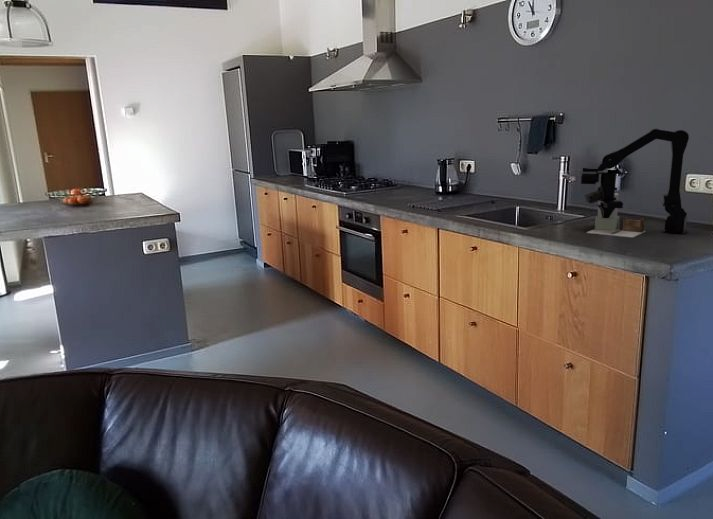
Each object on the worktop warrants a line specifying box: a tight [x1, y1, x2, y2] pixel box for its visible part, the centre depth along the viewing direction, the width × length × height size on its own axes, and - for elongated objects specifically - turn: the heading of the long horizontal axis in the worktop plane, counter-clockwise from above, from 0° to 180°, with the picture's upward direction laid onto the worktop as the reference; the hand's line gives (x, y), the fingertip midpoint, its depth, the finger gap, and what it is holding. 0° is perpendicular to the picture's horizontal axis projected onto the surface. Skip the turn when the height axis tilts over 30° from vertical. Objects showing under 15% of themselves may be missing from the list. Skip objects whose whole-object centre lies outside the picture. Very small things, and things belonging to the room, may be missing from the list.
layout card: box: [585, 228, 646, 239], centre depth 222 cm, size 18×14×1 cm
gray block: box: [597, 192, 620, 218], centre depth 248 cm, size 8×8×12 cm
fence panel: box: [594, 215, 621, 230], centre depth 226 cm, size 9×1×6 cm, turn 71°
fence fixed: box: [619, 216, 645, 232], centre depth 221 cm, size 9×1×6 cm, turn 45°
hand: (604, 222), depth 228 cm, fingers closed
